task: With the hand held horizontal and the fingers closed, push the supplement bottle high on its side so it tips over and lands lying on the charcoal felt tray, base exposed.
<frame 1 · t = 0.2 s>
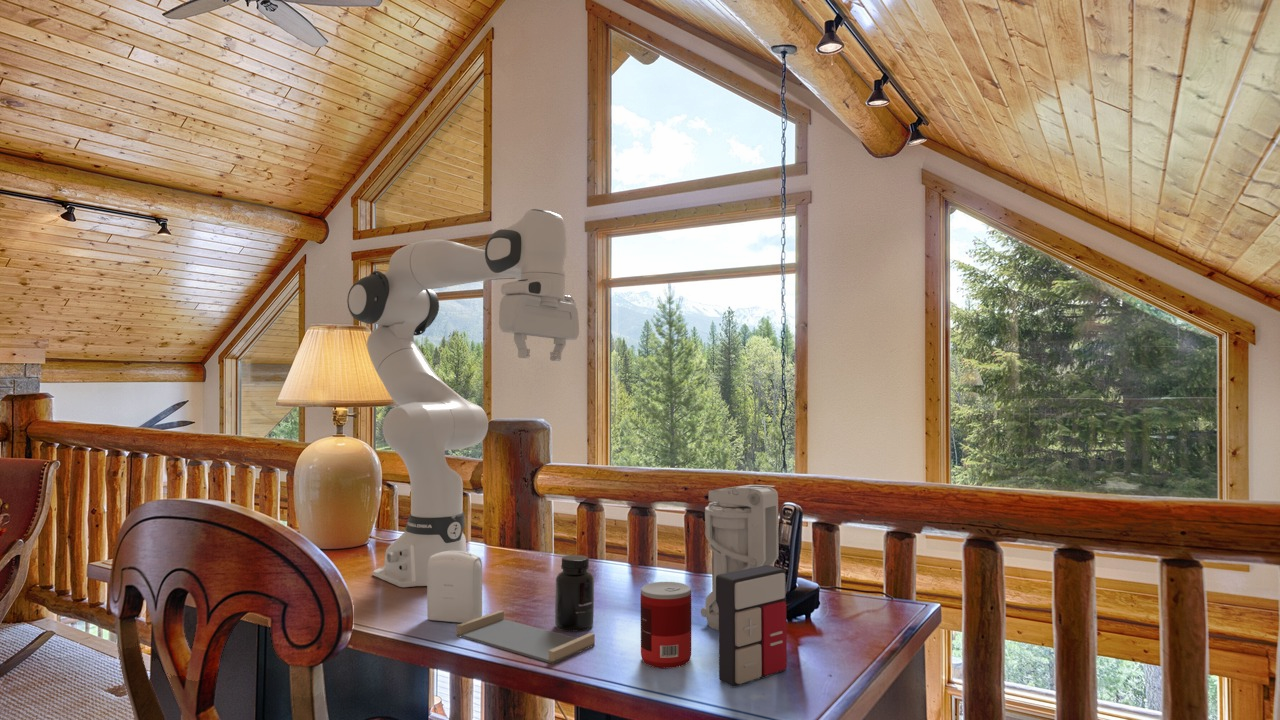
hand: (540, 359, 145), 48 cm above the table, tool pointing down, fingers open, 8 cm apart
canned food: (666, 660, 113), on the table
felt tray: (524, 640, 122), on the table
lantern: (740, 627, 129), on the table
photo printer: (454, 621, 132), on the table
supplement bottle: (574, 627, 129), on the table
calculator: (753, 677, 107), on the table
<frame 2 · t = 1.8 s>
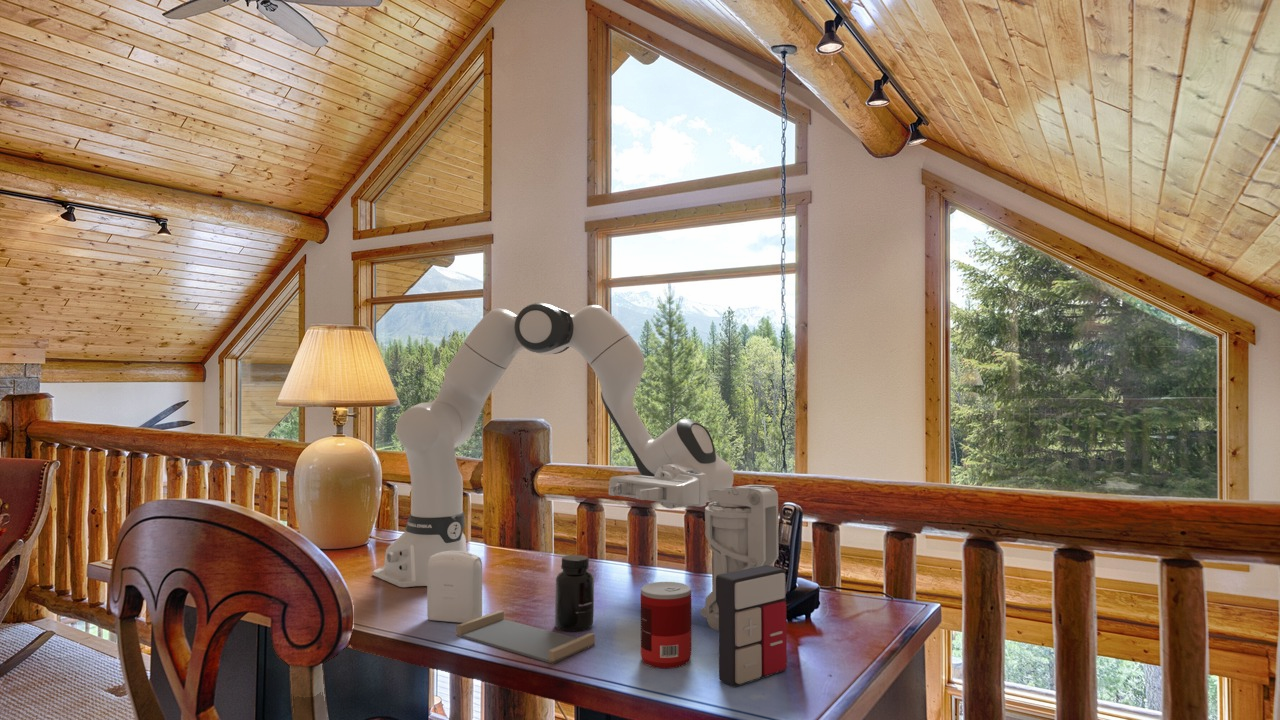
hand: (624, 493, 138), 22 cm above the table, tool horizontal, fingers open, 6 cm apart
nothing on the table moved.
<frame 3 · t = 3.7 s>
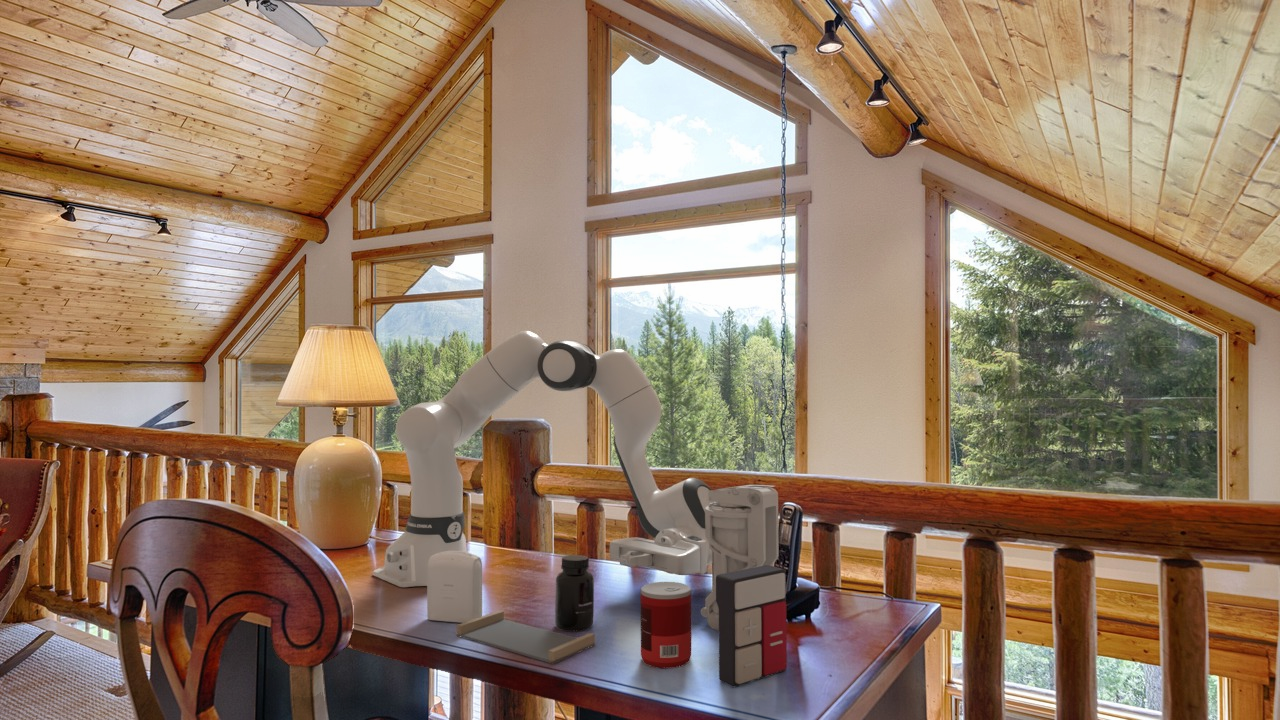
hand: (624, 561, 138), 9 cm above the table, tool horizontal, fingers closed
nothing on the table moved.
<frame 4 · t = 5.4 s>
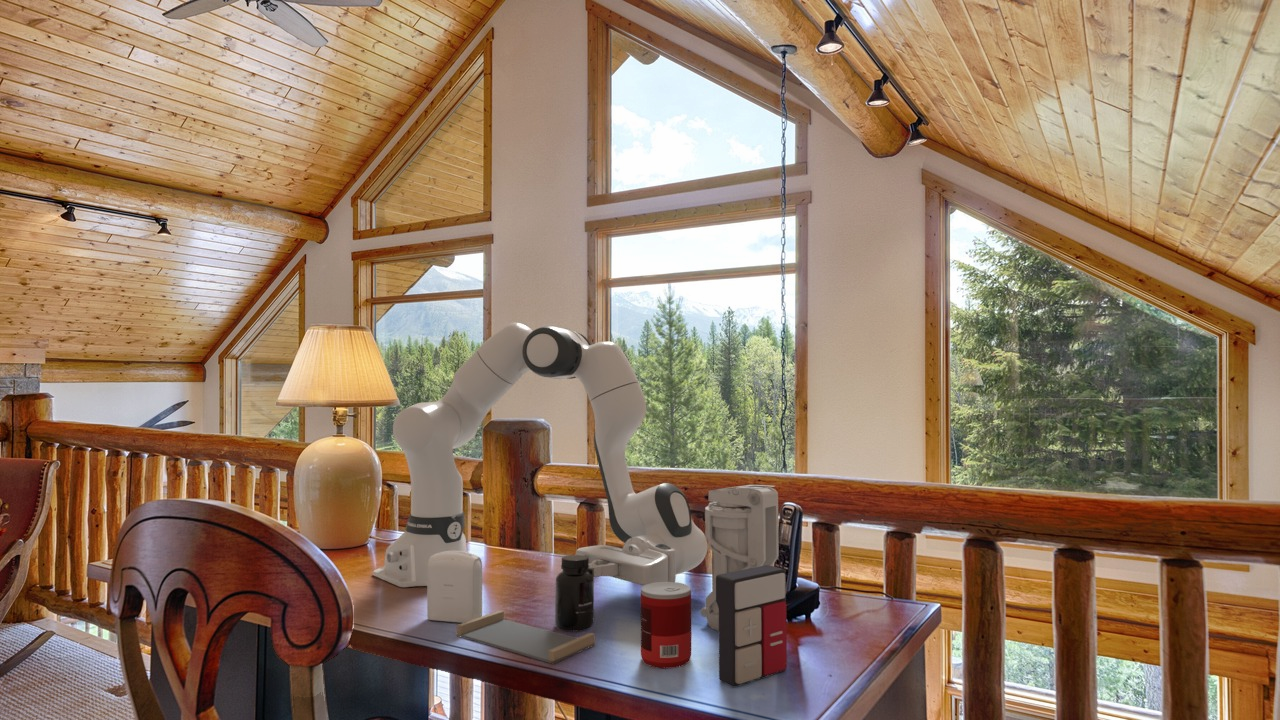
hand: (588, 571, 132), 9 cm above the table, tool horizontal, fingers closed, pressing on supplement bottle
supplement bottle: (574, 627, 129), on the table, touching gripper
everything else where it was.
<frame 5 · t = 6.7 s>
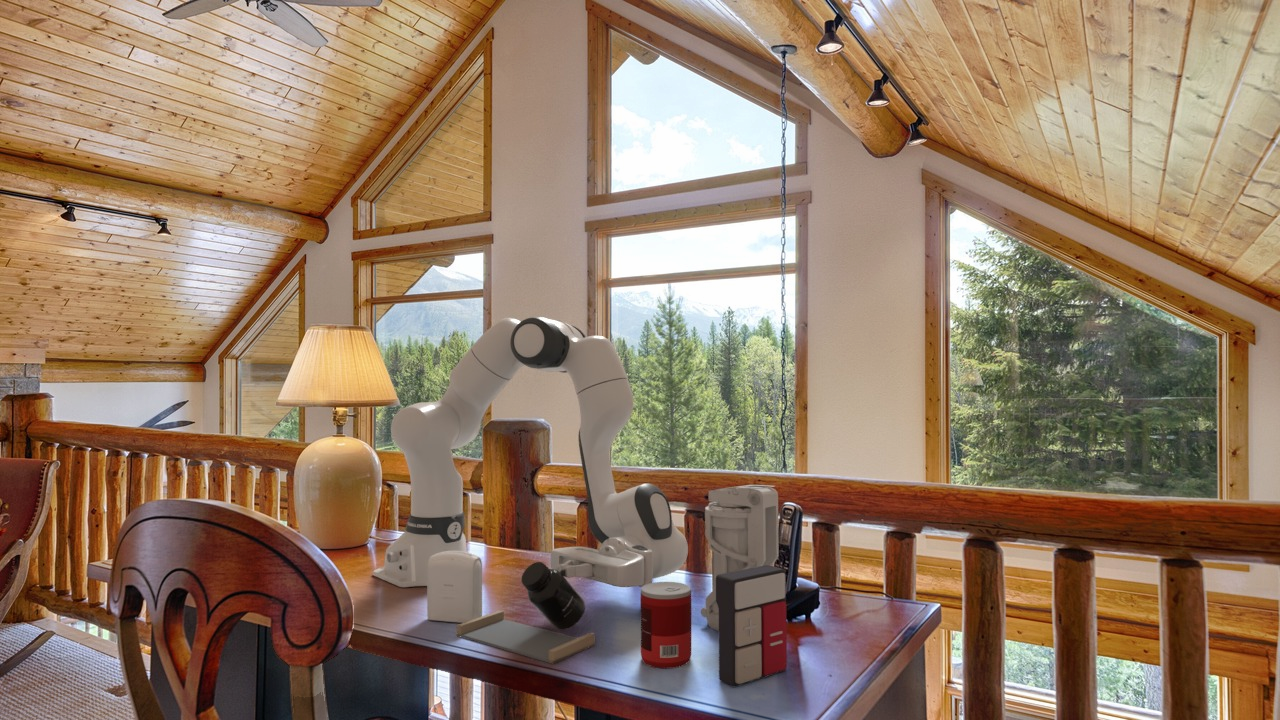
hand: (561, 571, 127), 10 cm above the table, tool horizontal, fingers closed, pressing on supplement bottle
supplement bottle: (570, 614, 129), point 2 cm above the table, touching gripper
everything else where it was.
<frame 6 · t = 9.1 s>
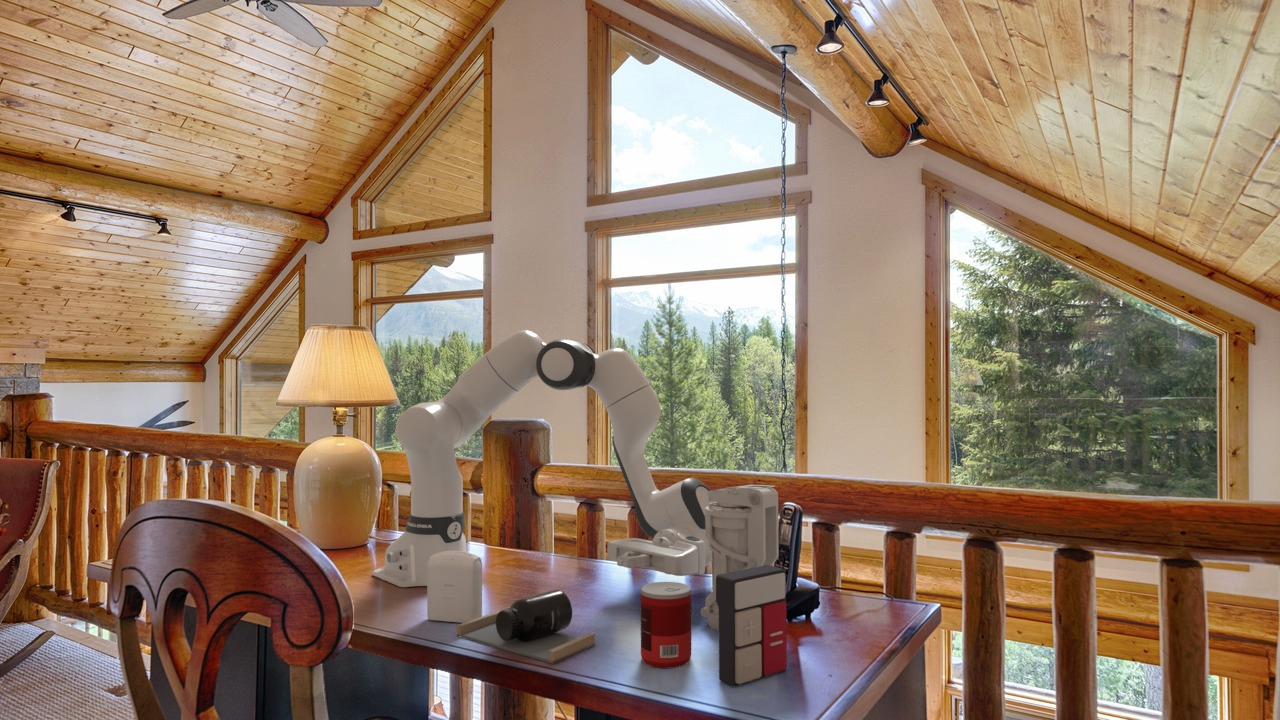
hand: (622, 562, 137), 9 cm above the table, tool horizontal, fingers closed
supplement bottle: (562, 608, 127), point 4 cm above the table, touching felt tray
everything else where it was.
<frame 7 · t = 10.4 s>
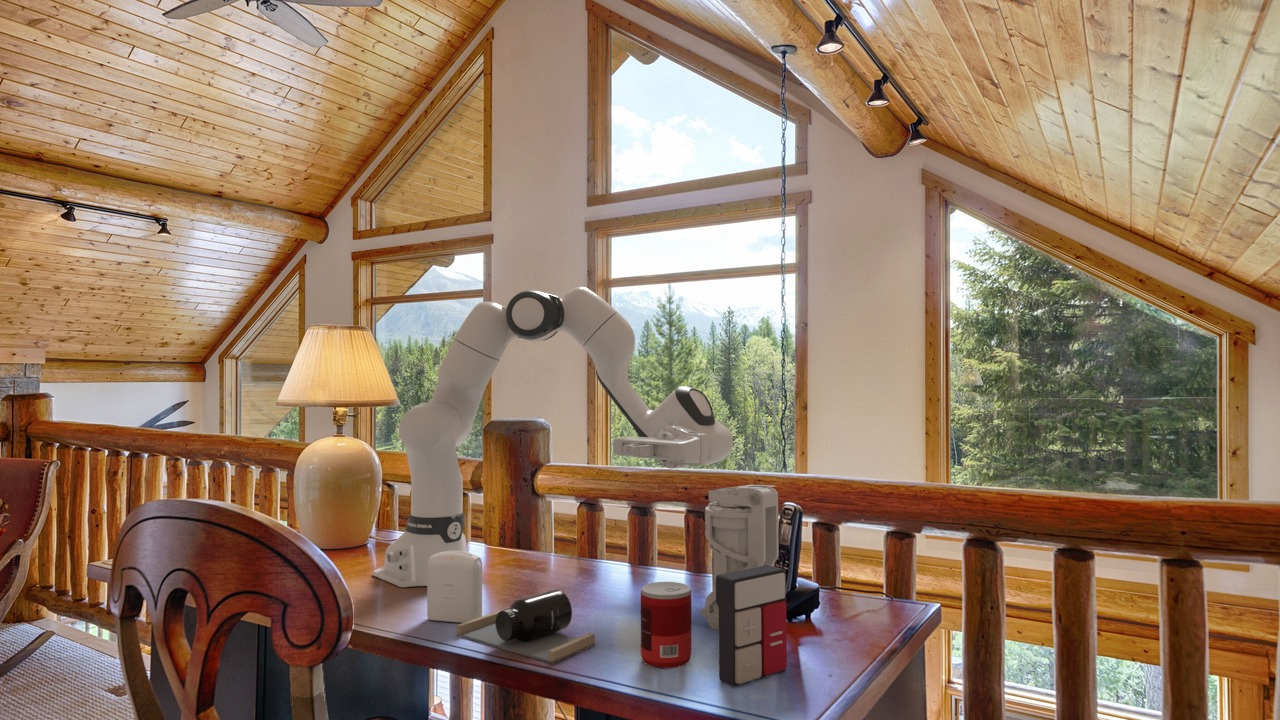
hand: (627, 450, 143), 30 cm above the table, tool horizontal, fingers closed
nothing on the table moved.
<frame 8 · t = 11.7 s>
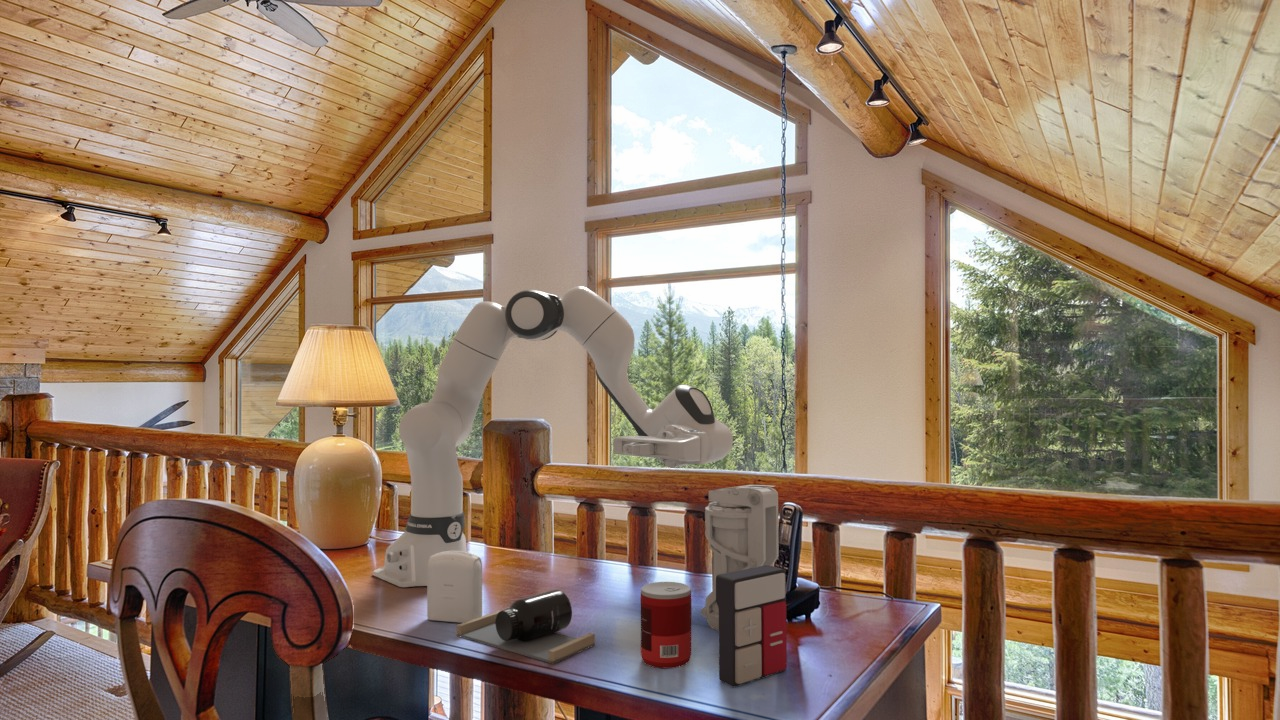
hand: (627, 449, 143), 30 cm above the table, tool horizontal, fingers closed
nothing on the table moved.
at the end: supplement bottle tilted 92°; supplement bottle inside the target area (1.5 cm from its centre), point 3.9 cm above the table; the gripper is holding nothing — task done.
